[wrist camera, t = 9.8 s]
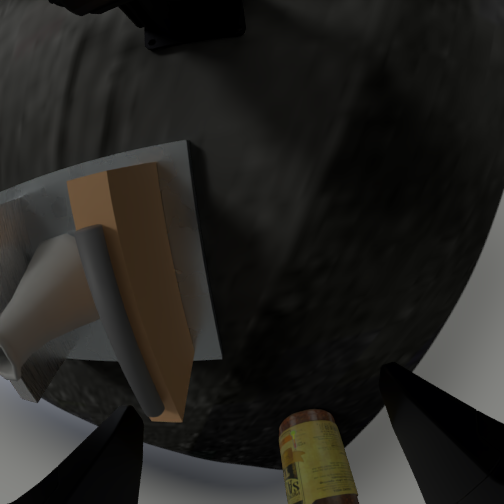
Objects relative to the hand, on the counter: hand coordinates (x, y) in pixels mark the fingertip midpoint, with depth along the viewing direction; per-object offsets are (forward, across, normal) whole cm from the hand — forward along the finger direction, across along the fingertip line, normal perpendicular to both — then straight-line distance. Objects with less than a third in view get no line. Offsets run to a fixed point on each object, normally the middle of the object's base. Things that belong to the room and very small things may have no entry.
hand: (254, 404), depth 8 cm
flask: (+12, +13, -1) cm, 18 cm away
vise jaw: (+11, +6, -1) cm, 13 cm away
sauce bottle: (+13, -2, +20) cm, 24 cm away
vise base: (+12, +11, -1) cm, 17 cm away
